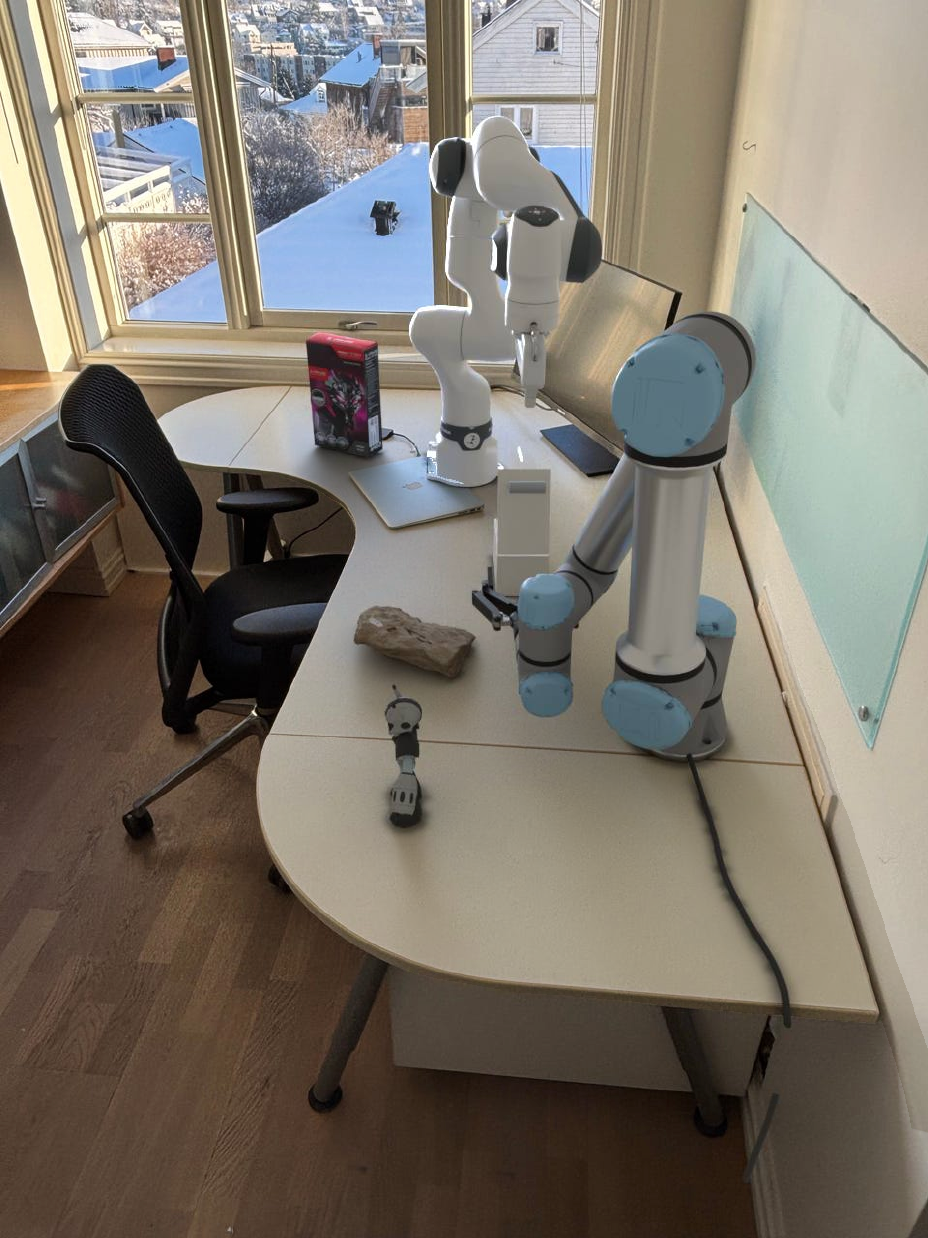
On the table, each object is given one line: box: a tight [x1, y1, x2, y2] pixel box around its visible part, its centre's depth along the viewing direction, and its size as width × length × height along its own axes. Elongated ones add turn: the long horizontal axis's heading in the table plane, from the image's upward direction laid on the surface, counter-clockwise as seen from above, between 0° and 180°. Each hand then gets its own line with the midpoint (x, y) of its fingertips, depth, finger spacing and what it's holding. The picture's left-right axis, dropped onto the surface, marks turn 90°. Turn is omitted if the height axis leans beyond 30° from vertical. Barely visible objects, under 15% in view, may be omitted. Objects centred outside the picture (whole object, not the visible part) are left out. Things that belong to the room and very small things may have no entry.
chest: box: [492, 518, 550, 597], centre depth 179 cm, size 15×10×9 cm, turn 1°
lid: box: [496, 468, 552, 555], centre depth 165 cm, size 16×10×9 cm
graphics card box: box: [305, 331, 384, 458], centre depth 224 cm, size 17×7×27 cm, turn 62°
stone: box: [353, 605, 477, 679], centre depth 158 cm, size 21×15×6 cm
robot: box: [383, 684, 423, 828], centre depth 123 cm, size 20×5×20 cm, turn 3°
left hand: (527, 396), depth 159 cm, fingers open, 8 cm apart
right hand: (529, 572), depth 160 cm, fingers open, 13 cm apart
